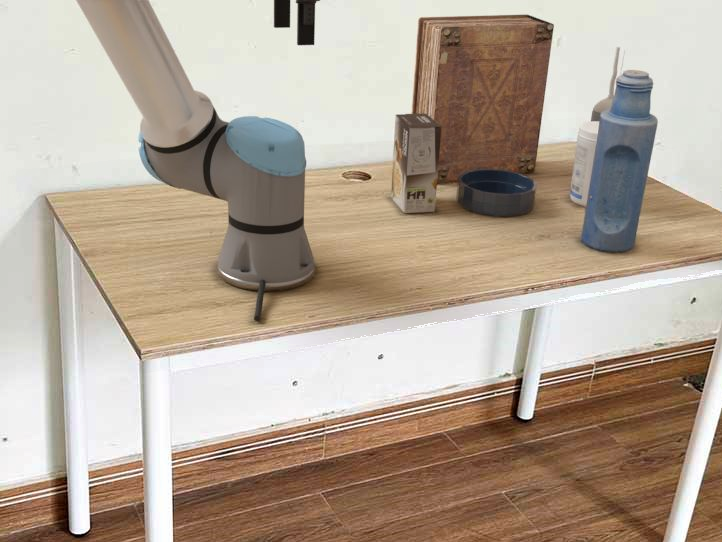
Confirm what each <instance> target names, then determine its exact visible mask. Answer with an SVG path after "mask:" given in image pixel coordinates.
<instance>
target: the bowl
mask: <svg viewBox="0 0 722 542" xmlns="http://www.w3.org/2000/svg"><path fill="white" fill-rule="evenodd" d="M537 187H538V184H537V183H536V180H534V179H533V178H531V177H530V176H527V175H524V174H520V173H516V172H512V171H506V170H499V169H477V170H471V171H467V172H464V173H462V174H461V175H460V176H459V177H458V181H457V185H456V197H455V199H456V202H457V204H458V205H459V206H461V207H462V208H463V209H466V210H468V211H470V212H473V213H476V214H478V215H482V216H483V215H484V216H490V217H499V218H500V217H515V216H520V215H524V214H527V213H529V212H531V211H532V210H533V209H534V207H535V202H536V195H537V189H538V188H537Z"/></svg>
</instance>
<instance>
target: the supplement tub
mask: <svg viewBox="0 0 722 542" xmlns="http://www.w3.org/2000/svg"><path fill="white" fill-rule="evenodd" d="M598 128H599V121H591V120H590V121H585V122H582V123H580V125H579V127H578V132H577V136H576V137H577V138H576V144H575V151H574V158H573V159H574V160H573V167H572V175H571V176H572V177H571V184H570V193H569V198H570V200H571V201H572V202H573V203H574V204H576V205H578V206H581V207H584V208H586V204H587V198H588V192H589V185H590V180H591V173H592V167H593V161H594V155H595V148H596V143H597V136H598Z"/></svg>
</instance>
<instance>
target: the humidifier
mask: <svg viewBox="0 0 722 542" xmlns="http://www.w3.org/2000/svg"><path fill="white" fill-rule="evenodd" d="M620 49H621V47H620V46H616V48H615V54H614V60H613V67H612V75H611V78H610V81H609V92H608V95H607V97H606V98H603V99H601V100H599V101H598V102H597V103H596V104H595V105H594V106H593V108H592V111H591V117H590V122H591V121H600V115H601V113H602V112H603V111H604V110H608V109H611V105H612V101H613V98H614V94H615V85H616V79H617V77H618V66H619V65H618V64H619V58H620ZM625 53H626V50H624V51H623V54H625ZM624 59H625V55H623V58H622V60H624ZM623 66H624V61H622V63H621V67H620V70H622V68H623Z"/></svg>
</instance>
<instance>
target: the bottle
mask: <svg viewBox="0 0 722 542" xmlns="http://www.w3.org/2000/svg"><path fill="white" fill-rule="evenodd" d="M653 86H654V79H653V78H652V77H650V74H649V72H648V71H644V70H637V69H626V70H623V72H622V73H621V74H620V75H617V76H616V79H615V88H614V98H613V101H612V105H611V109H608V110H604V111H603V112H602V113H601V115H600V121H599V128H598V136H597V143H596V148H595V155H594V161H593V167H592V173H591V180H590V185H589V192H588V198H587V204H586V207H585V211H584V217H583V224H582V230H581V236H580V240H581V242H582V244H584V245H585V246H586V247H589V248H591V249H593V250H595V251H599V252H603V253H611V254H612V253H613V254H615V253H625V252H628V251H629V252H630V251H631V250H633V248H634V247H635V245H636V239H637V233H638V228H639V224H640V223H639V222H640V216H641V212H642V206H643V201H644V196H645V190H646V186H647V181H648V176H649V171H650V164H651V160H652V156H653V155H652V154H653V150H654V149H653V148H654V145H655V139H656V134H657V129H658V123H659V119H658V118H657V116H655V115H654V114H652V113H651V102H652V101H651V99H652V97H651V95H652V91H653V88H654V87H653Z"/></svg>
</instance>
